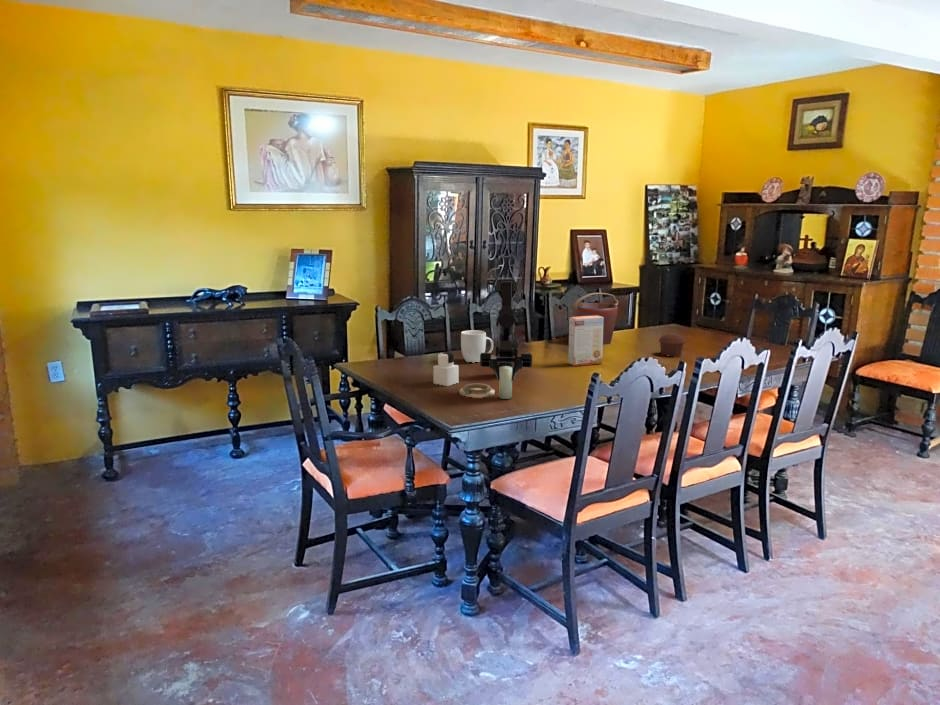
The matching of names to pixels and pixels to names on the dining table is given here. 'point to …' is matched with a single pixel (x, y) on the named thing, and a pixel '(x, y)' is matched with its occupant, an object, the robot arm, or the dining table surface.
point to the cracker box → (585, 340)
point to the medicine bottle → (446, 370)
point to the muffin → (671, 344)
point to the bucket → (599, 313)
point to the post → (505, 382)
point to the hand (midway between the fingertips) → (505, 380)
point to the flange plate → (477, 390)
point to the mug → (474, 345)
